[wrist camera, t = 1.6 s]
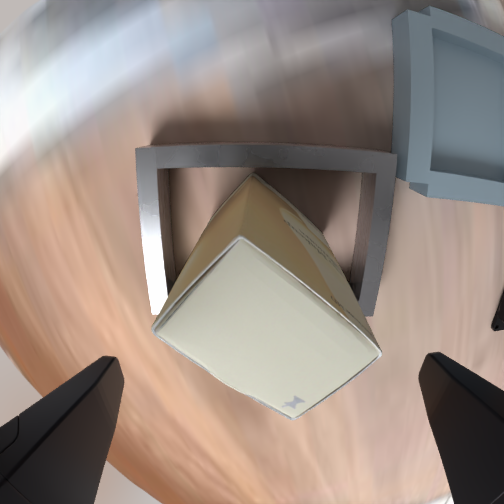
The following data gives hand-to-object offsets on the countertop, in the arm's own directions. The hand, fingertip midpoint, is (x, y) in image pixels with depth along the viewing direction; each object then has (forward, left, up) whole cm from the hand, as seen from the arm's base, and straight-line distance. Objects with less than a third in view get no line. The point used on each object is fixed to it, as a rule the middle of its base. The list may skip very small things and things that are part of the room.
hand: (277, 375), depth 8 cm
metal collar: (0, 0, -13) cm, 13 cm away
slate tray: (-14, -9, -13) cm, 21 cm away
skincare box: (0, 0, -13) cm, 13 cm away
